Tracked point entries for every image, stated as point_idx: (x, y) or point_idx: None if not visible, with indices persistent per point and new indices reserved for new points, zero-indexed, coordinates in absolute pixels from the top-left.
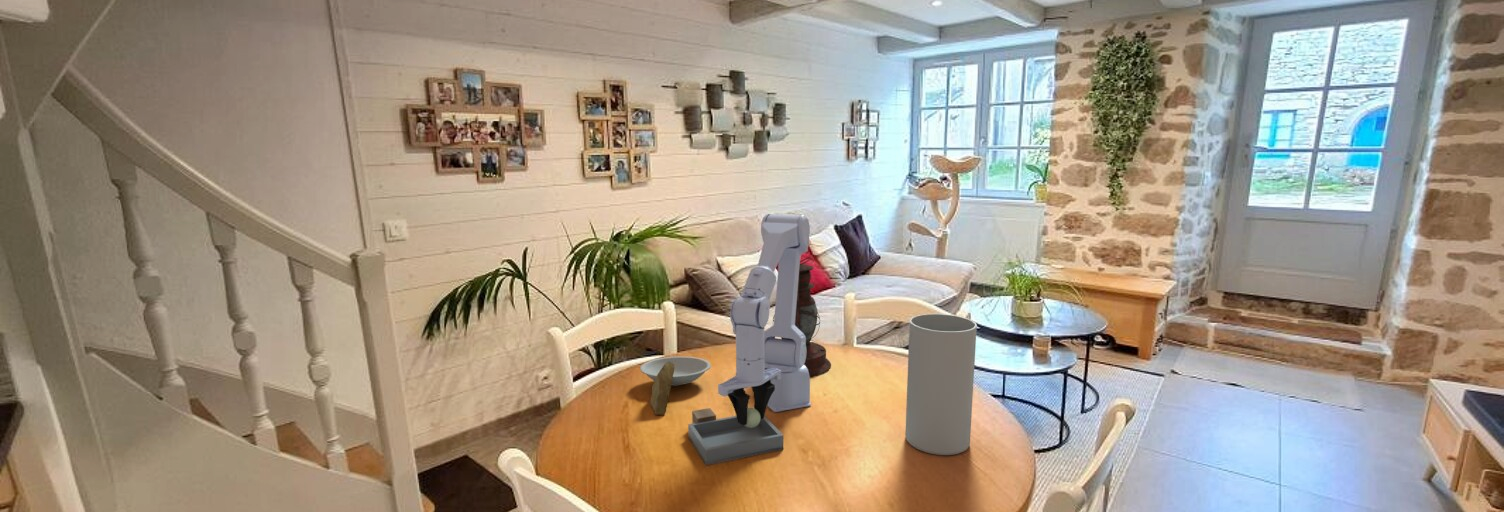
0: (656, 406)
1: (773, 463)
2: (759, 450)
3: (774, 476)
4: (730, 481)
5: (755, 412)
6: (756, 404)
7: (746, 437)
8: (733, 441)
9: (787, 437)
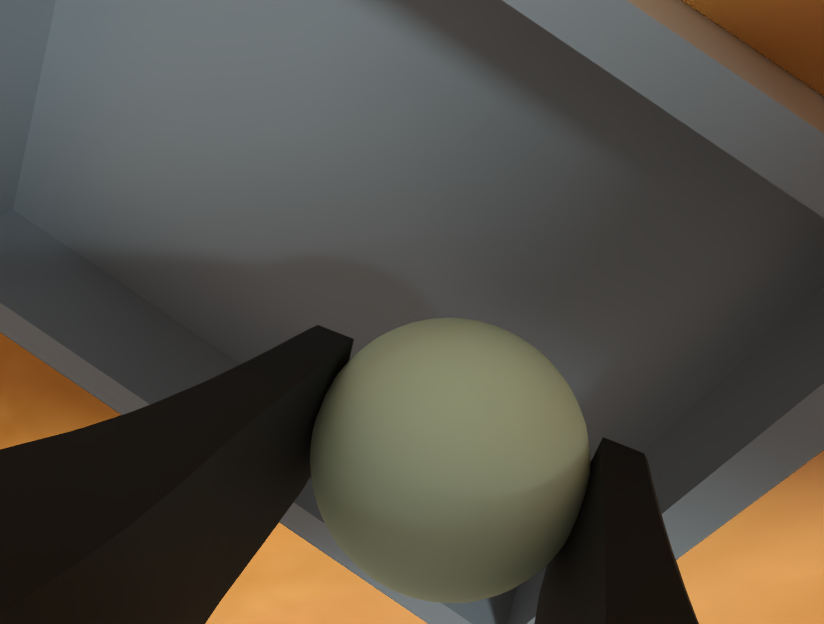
0: None
1: (337, 564)
2: None
3: (235, 601)
4: (31, 428)
5: (413, 596)
6: (580, 595)
7: (486, 276)
8: (343, 209)
9: (768, 550)
